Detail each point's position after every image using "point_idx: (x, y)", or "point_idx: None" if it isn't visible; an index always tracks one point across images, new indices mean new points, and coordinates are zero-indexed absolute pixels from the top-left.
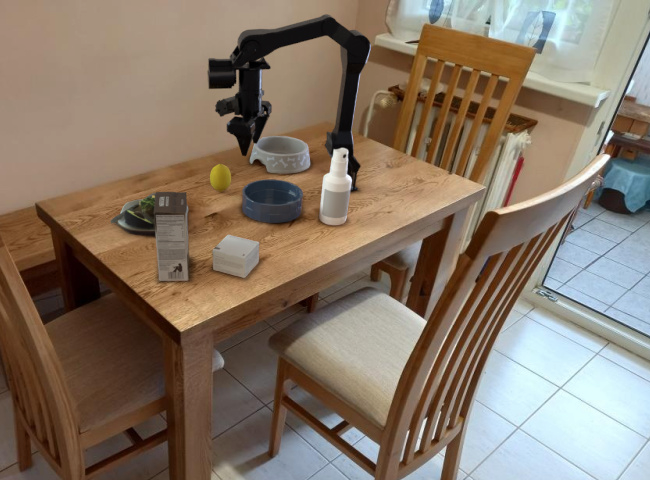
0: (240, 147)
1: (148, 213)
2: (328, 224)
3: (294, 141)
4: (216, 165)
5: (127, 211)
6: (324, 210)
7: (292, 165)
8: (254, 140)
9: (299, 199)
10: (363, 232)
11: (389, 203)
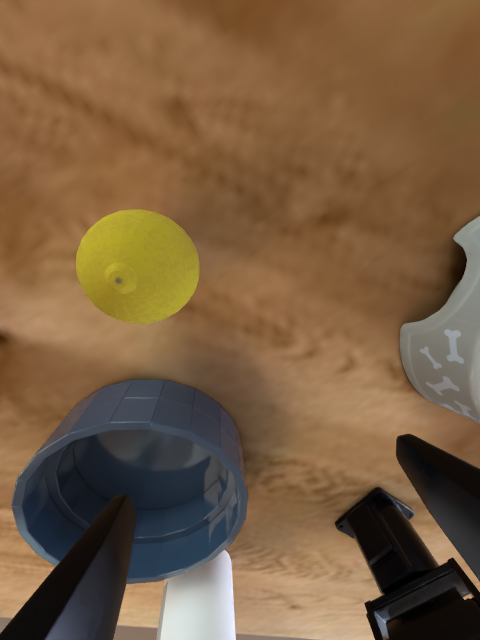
0: (37, 600)
1: None
2: None
3: None
4: (116, 246)
5: None
6: (162, 604)
7: (444, 403)
8: (413, 462)
9: (144, 582)
10: None
11: (334, 594)
